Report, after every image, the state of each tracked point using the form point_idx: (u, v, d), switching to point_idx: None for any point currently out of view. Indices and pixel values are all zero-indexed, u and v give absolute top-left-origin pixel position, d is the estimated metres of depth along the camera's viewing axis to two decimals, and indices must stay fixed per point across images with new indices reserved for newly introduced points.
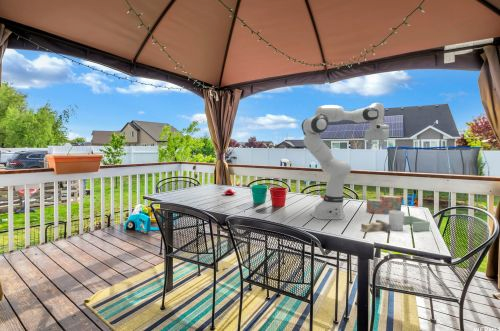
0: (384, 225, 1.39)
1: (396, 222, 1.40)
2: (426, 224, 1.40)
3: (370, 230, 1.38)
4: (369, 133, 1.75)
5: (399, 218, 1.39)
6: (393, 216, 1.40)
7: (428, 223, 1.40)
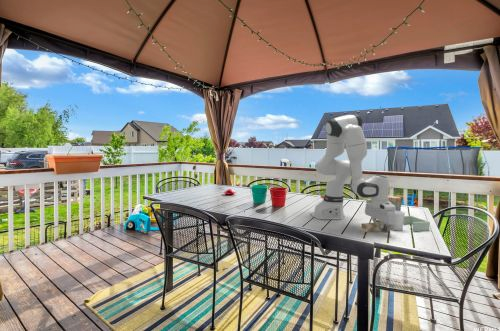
0: (384, 225, 1.39)
1: (396, 222, 1.40)
2: (426, 224, 1.40)
3: (370, 230, 1.38)
4: (371, 208, 1.44)
5: (399, 218, 1.39)
6: None
7: (428, 223, 1.40)
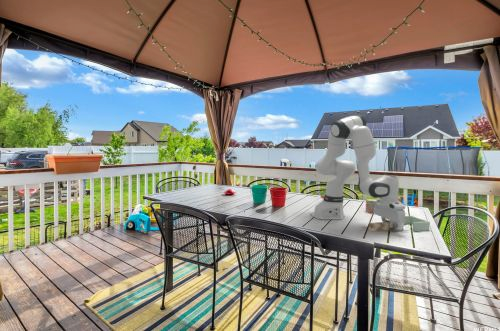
0: None
1: None
2: (426, 224, 1.40)
3: (378, 229, 1.39)
4: (380, 208, 1.45)
5: None
6: None
7: (428, 223, 1.40)
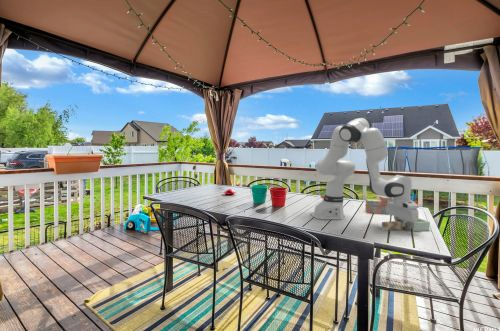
0: None
1: None
2: (426, 224, 1.40)
3: (391, 228, 1.41)
4: (392, 207, 1.47)
5: None
6: None
7: (428, 223, 1.40)
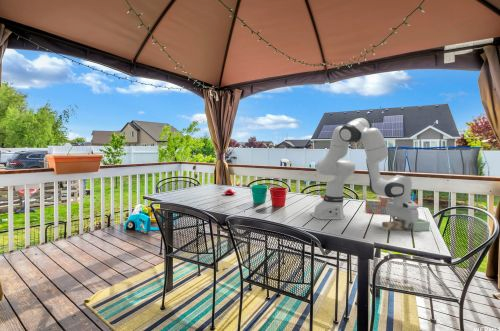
0: None
1: None
2: (426, 224, 1.40)
3: (391, 228, 1.41)
4: (392, 207, 1.47)
5: None
6: None
7: (428, 223, 1.40)
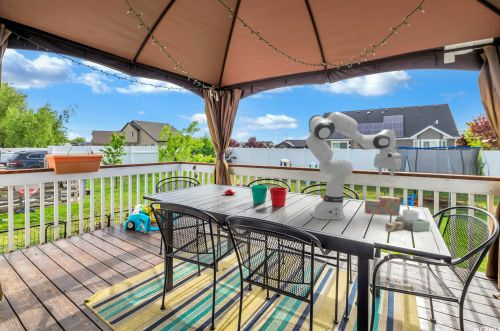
0: (406, 224, 1.41)
1: (410, 221, 1.42)
2: (426, 224, 1.40)
3: (394, 230, 1.39)
4: (379, 160, 1.64)
5: (413, 217, 1.41)
6: (407, 215, 1.42)
7: (428, 223, 1.40)
